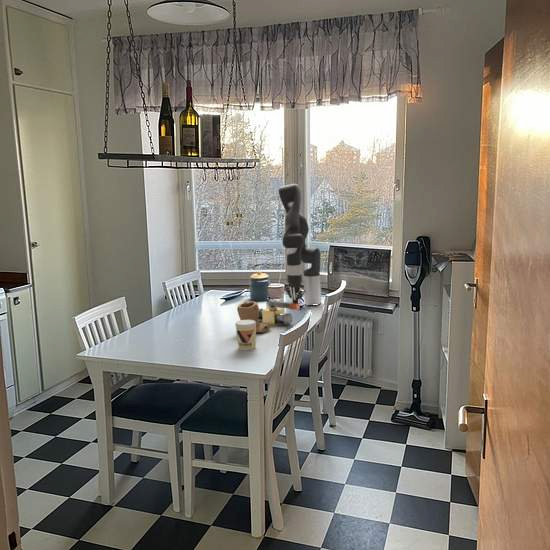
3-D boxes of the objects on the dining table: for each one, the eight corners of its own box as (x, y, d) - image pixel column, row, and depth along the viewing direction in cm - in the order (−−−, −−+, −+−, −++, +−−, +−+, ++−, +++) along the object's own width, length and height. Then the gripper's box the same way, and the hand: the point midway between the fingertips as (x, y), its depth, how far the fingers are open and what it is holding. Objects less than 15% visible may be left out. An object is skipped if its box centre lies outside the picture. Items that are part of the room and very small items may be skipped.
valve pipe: (254, 321, 303) (253, 305, 301) (264, 318, 309) (263, 302, 307) (283, 327, 290) (283, 310, 288) (293, 323, 296) (293, 307, 294)
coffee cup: (234, 351, 256) (233, 325, 254) (239, 344, 265) (237, 319, 263) (255, 351, 255) (254, 324, 253) (259, 344, 264) (257, 319, 262)
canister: (260, 302, 345) (259, 273, 342) (245, 299, 354) (244, 271, 350) (275, 298, 354) (274, 270, 351) (260, 295, 363) (259, 268, 360)
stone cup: (234, 334, 282) (232, 304, 279) (244, 327, 293) (242, 298, 290) (262, 336, 277) (261, 306, 274) (271, 329, 288) (270, 300, 285)
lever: (267, 306, 297) (267, 301, 297) (271, 305, 300) (271, 299, 300) (296, 310, 288) (296, 304, 287) (300, 308, 291) (299, 302, 291)
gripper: (280, 272, 293) (281, 306, 296) (297, 276, 283) (298, 310, 286) (291, 270, 298) (292, 303, 301) (308, 273, 288) (309, 307, 291)
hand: (295, 306), depth 294 cm, fingers closed
